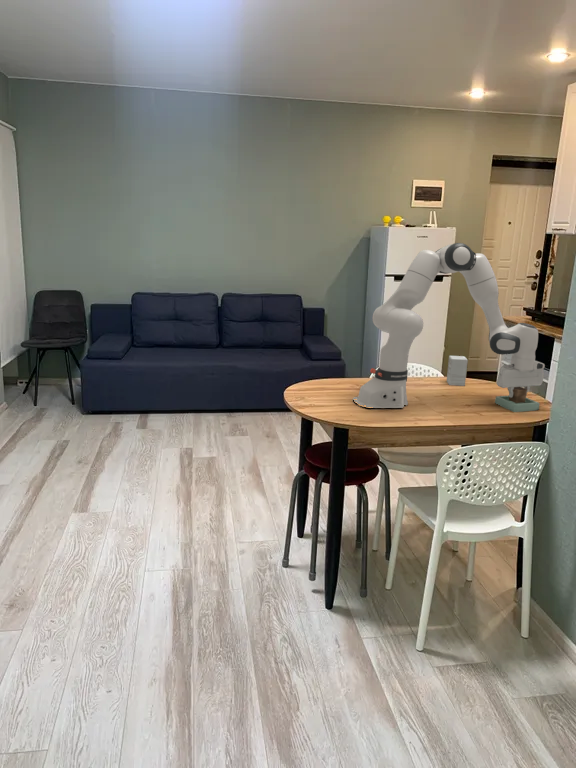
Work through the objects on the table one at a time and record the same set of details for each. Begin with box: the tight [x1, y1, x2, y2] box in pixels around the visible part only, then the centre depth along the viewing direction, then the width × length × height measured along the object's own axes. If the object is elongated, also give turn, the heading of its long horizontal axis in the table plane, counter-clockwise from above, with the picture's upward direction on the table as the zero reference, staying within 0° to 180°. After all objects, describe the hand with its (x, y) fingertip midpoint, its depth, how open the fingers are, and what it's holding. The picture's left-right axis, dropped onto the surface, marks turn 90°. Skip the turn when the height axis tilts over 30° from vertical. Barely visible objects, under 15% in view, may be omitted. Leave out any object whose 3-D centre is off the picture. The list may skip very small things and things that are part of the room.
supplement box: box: [446, 355, 469, 387], centre depth 268 cm, size 7×7×13 cm
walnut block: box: [509, 387, 528, 403], centre depth 236 cm, size 4×4×6 cm
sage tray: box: [494, 395, 541, 413], centre depth 237 cm, size 12×12×3 cm
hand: (517, 396), depth 237 cm, fingers closed on walnut block, 4 cm apart
